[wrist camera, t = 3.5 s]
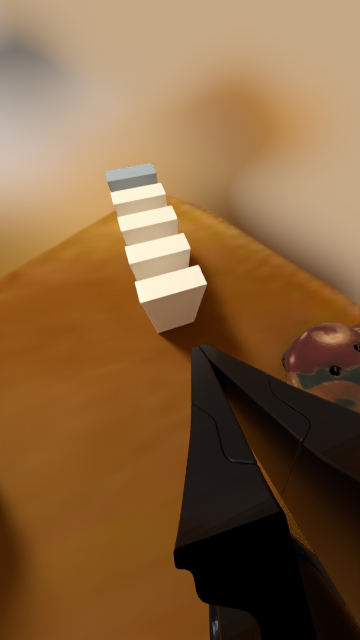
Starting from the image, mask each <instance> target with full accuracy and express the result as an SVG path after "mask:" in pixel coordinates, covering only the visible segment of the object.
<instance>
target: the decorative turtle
mask: <svg viewBox="0 0 360 640" xmlns="http://www.w3.org/2000/svg"><path fill="white" fill-rule="evenodd" d="M281 360H282V364H283V365H284V366H285V367H286V377H287V382H286V383H288V384H290V385H292V386H295V387H297V388H299V389H302V390H304V391H306V392H309V393H311V394H314V395H316V396H319V397H321V398H324V399H326V400H329V401H331V402H334V403H336V404H339V405H341V406H343V407H346V408H348V409H351V410H353V411H356V412H358V413H360V324H358V325H355V326H353V327H349V326H347V325H344V324H341V323H323V324H319V325H316V326H314V327H312V328H310V329H308V330H306V331H305V332H303V333H302V334H301V335H300V336H299V337H298V338H297V339H296V340H295V341H294V342H293V343H292V345H291V346H290V347H289V349H288V350H287V351H286V352H285V353H284V354H283V356H282V359H281ZM331 369H335V371H336V373H335V374H334V373H333V372H332V370H331Z"/></svg>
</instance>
